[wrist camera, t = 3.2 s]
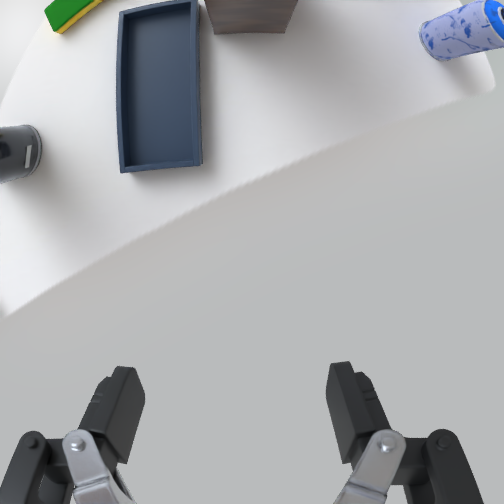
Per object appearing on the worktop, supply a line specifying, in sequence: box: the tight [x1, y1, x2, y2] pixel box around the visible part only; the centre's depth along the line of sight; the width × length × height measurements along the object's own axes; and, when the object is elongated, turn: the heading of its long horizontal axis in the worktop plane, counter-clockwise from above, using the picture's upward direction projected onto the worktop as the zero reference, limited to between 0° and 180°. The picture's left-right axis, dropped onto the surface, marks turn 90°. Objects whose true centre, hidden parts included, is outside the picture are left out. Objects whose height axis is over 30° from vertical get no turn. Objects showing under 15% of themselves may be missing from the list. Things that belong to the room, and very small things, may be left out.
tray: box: [116, 0, 203, 173], centre depth 35 cm, size 12×26×3 cm, turn 2°
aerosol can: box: [419, 0, 504, 61], centre depth 23 cm, size 8×8×20 cm
